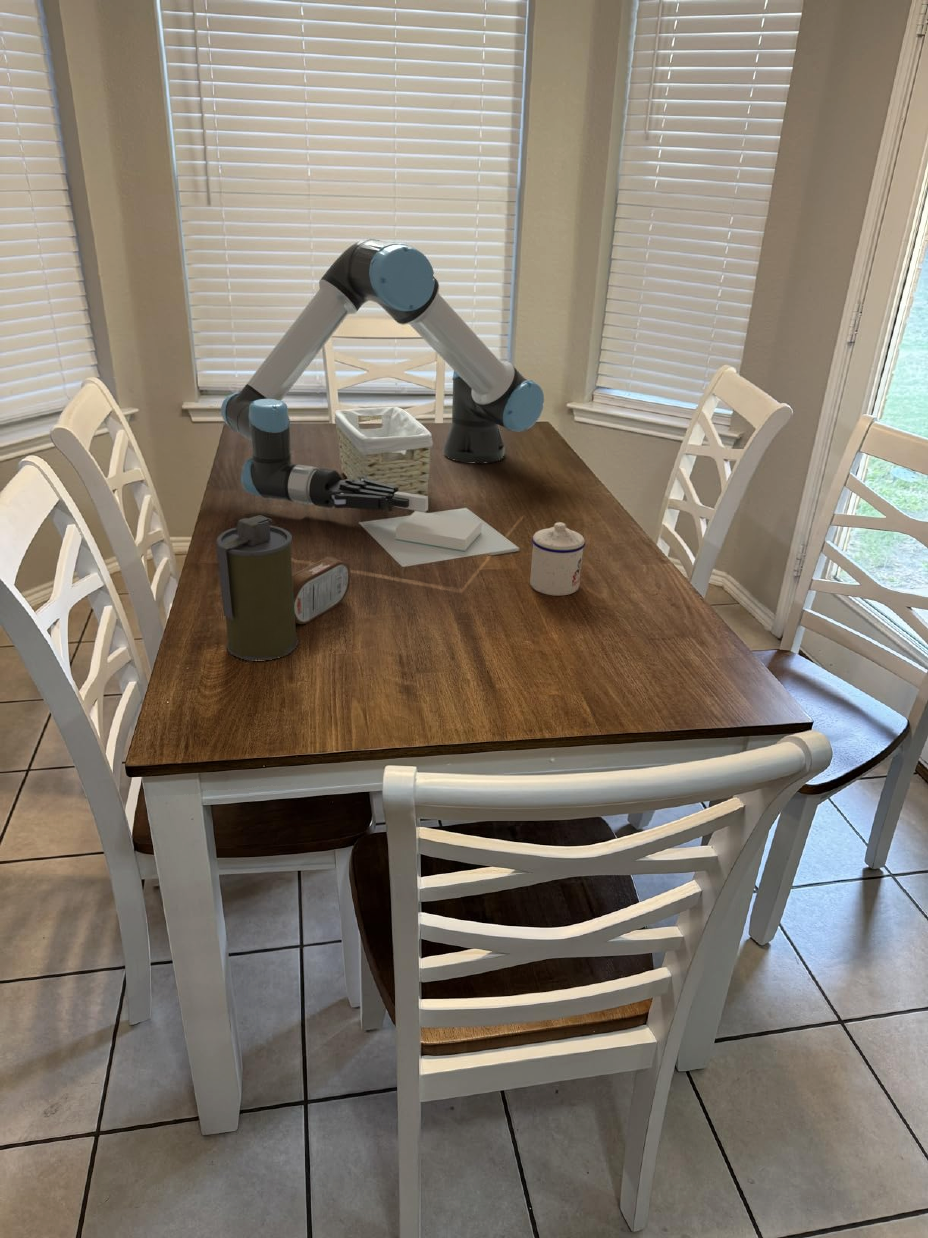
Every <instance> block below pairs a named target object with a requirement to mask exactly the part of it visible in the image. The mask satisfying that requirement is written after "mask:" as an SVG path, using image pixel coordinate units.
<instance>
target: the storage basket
mask: <svg viewBox="0 0 928 1238" xmlns="http://www.w3.org/2000/svg"><path fill="white" fill-rule="evenodd" d="M334 416H335V417H334V423H335V424H336V425H335V428H336V434H337V437H338V438H337V440H338V450H339V456H340V457H339V460H340V465H341V468H340V469H341V471H342V472H343V474H344V475H345V477H346V479H353V480H355V481H360V477H366V478H368V479H370V480H373V481H377V482H381V483H385V484H388V485H392V486H397V487H399V492H404V493H410V494H417V495H423V496H428V489H429V482H428V481H429V478H430V474H429V473H430V469H431V464H430V461H431V449H432V447H433V446H434V443H433V442H434V441H433V436H432V435H433V434H432V433H431V432H430V430H429V429H427V428H426V427H425V426H424V425H423V424H422V423H421V422H420V421H418V420H417V419H416V418H415V417H414V416H413V415H411V414H410V413H409V412H407V411H406V410H404V409H403V408H401V407H398V406H388V407H387V406H382V407H381V406H380V407H368V408H366V407H365V408H364V407H363V408H350V409H337V410H336V411H335V412H334ZM377 420H381V427H376V428H360V423H359V422H361V421H377Z"/></svg>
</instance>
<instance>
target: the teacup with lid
mask: <svg viewBox="0 0 928 1238" xmlns="http://www.w3.org/2000/svg"><path fill="white" fill-rule="evenodd" d="M531 542H532V552H531V568H530V569H531V570H530V579H529V580H530V581H529V583H530V586H531V587H532V589H534V590H535V591H536V592H538V593H541V594H544V595H548V596H556V597H557V596H558V597H559V596H560V597H561V596H567V595H568V596H569V595H571V594H574V593H575V592H577V591H578V590H579V589H580V582H581V572H582V566H583V565H582V564H583V553H584V548H585V547H586V541H585V538H584V537H583V535H582V534H580V533H579V532H577V531H575V530H572V529H569V528H568V527H567V525H566V523H564V522H560V521H559V522H556V523H554V525H553V526H552V527H548V528H543V529H539V530H537V531H536V532H535V533H534V534H533V536H532V539H531Z"/></svg>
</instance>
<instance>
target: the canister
mask: <svg viewBox="0 0 928 1238" xmlns="http://www.w3.org/2000/svg"><path fill="white" fill-rule="evenodd" d="M272 522H273V519H272V518H269V517H267V516H264V515H262V514H259V515H255V516H252V517H251V516H250V517H249V518H247V517H245V518H241V519H239V520H237V526H236V527H232V528H229V529H227V530H225V531H223V532H222V533H221V534H219V536H218V537H217V538H216V542H215V543H216V550H217V551H216V552H217V561H218V572H219V581H220V591H221V593H220V594H221V601H222V612H223V617H225V622H226V623H225V624H226V633H227V643H226V647H227V648H226V649H227V651H228V653H229V652H230V653H229V654H230V655H232V654H233V655H234V656H236V657H239V658H242V659H244V660H243V661H245V660H254V661H255V660H257V661H258V660H270V659H276V658H278V657H282V658H284V657H286V656H285V655H286V654H289V653H290V654H291V653H293V652H294V651H295V650H296V649H297V647H298V644H299V639H298V636H297V634H296V633H297V631H296V623H295V612H294V594H293V577H292V575H293V564H292V563H293V562H292V547H291V545H292V541H293V536H292V534H291V533H290V532H289V531H288V530H286V529H285V528H282V527H279V526H274V525H271V524H270V523H272ZM296 646H297V647H296ZM295 648H296V649H295ZM293 650H294V651H293ZM292 651H293V652H292ZM290 654H289V655H290ZM233 655H232V656H233ZM234 656H233V657H234ZM283 656H284V657H283ZM236 657H235V658H236ZM239 658H238V659H239ZM242 659H241V660H242ZM276 660H277V659H276Z"/></svg>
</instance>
